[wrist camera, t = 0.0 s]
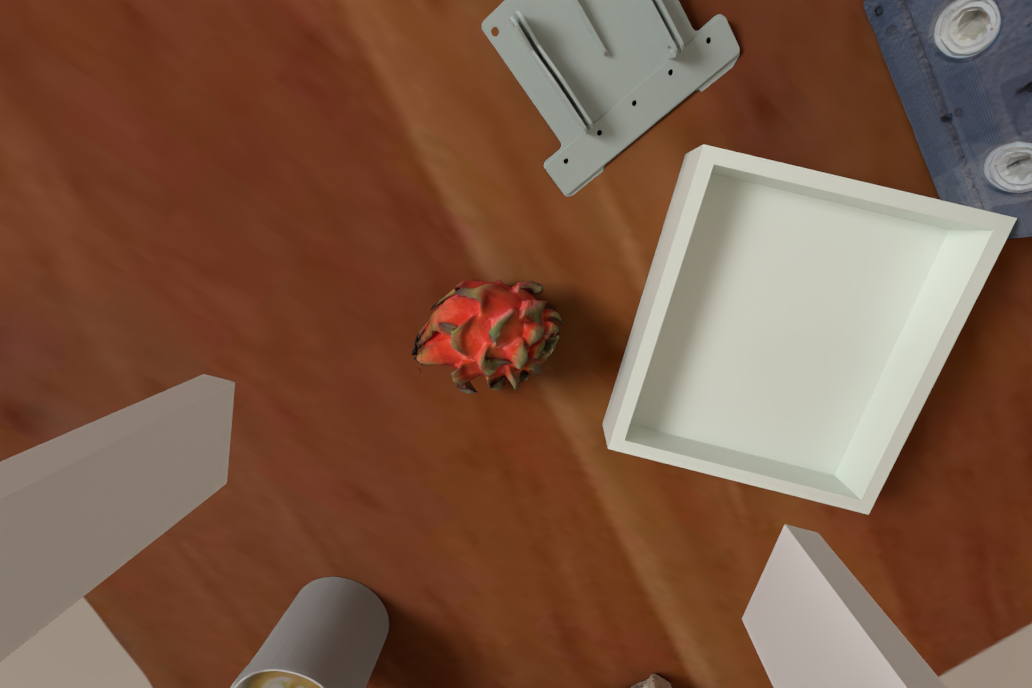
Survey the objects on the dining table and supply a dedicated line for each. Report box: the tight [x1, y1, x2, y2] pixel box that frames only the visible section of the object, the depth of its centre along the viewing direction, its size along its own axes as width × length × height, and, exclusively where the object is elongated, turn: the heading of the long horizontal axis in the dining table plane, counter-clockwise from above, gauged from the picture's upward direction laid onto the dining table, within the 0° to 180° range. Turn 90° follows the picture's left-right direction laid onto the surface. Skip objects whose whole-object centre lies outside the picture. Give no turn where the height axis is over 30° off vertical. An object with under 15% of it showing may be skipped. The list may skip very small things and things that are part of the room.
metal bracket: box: [482, 0, 740, 196], centre depth 33 cm, size 14×6×15 cm
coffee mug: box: [230, 577, 389, 688], centre depth 43 cm, size 13×10×10 cm
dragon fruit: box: [412, 279, 564, 394], centre depth 36 cm, size 8×8×12 cm
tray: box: [603, 145, 1017, 515], centre depth 35 cm, size 22×20×4 cm
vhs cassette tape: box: [864, 0, 1032, 239], centre depth 28 cm, size 18×3×10 cm, turn 29°
